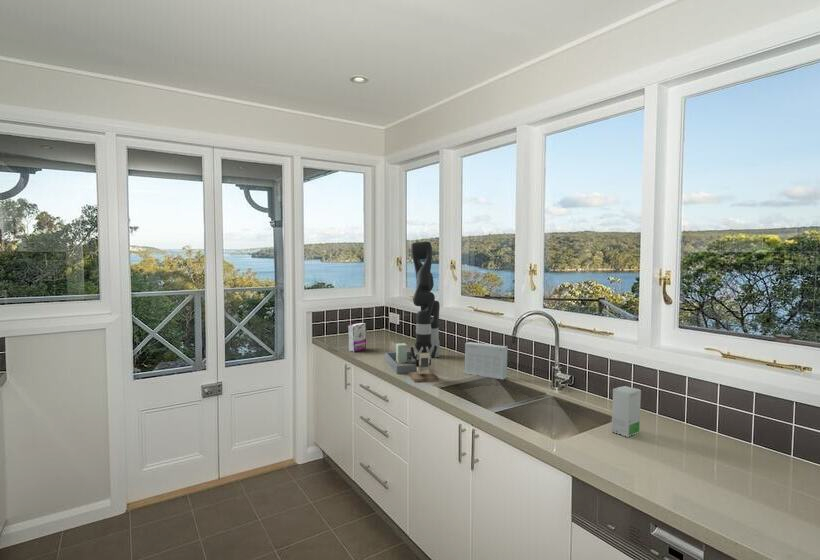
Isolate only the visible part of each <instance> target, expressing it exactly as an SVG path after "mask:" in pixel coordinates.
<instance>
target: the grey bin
mask: <svg viewBox="0 0 820 560" xmlns="http://www.w3.org/2000/svg"><path fill="white" fill-rule="evenodd" d="M414 354H415V356H416V353H414ZM408 358H411V359H410V360H411V361H412V362H414V363H415V359H413V358H412V356H411V351H410V350H409V351H408V350H407V360H409V359H408ZM384 360H385V362H386V363H387V364H388V365H389V366H390V368H391V369H392V370H393V371H394V372H395V374H397V373H401V374H408V372H417V366H416V365H415V364H398V363H397V362H396V351H391V352H384Z"/></svg>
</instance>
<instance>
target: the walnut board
mask: <svg viewBox="0 0 820 560" xmlns="http://www.w3.org/2000/svg"><path fill="white" fill-rule="evenodd" d="M407 375H409V376H410V377H411V378H410V377H409V376H408V377H409V378H410V379H411V380H412V381H413V382H414V383H419V382H418V381H424V382H436V381H439V376H437V374H435V373H434V372H433V371H431V370H429V373H424V374H419V373H418V372H408V373H407Z"/></svg>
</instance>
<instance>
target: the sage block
mask: <svg viewBox="0 0 820 560" xmlns="http://www.w3.org/2000/svg"><path fill="white" fill-rule="evenodd" d="M407 347H408V344H406V343H404V342H402V343H396V344H395V352H396V359H395V362H396V361H397V362H398V363H397V362H396V363H397V364H406V363H405V362H407V363H408V359H407V352H408V348H407Z"/></svg>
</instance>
